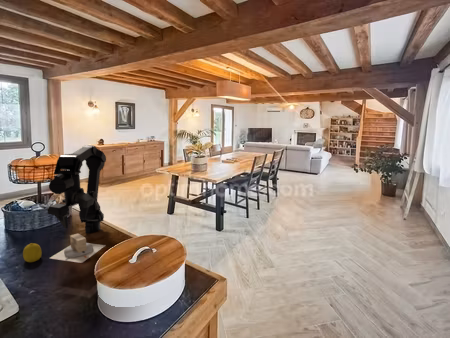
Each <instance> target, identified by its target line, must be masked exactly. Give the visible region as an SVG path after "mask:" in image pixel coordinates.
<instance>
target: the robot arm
mask: <svg viewBox="0 0 450 338" xmlns="http://www.w3.org/2000/svg"><path fill="white" fill-rule="evenodd" d="M84 161H85V165H86V167H87V169H88V175H87V176H88V178H87V186H86V188H87V189H86V192H85V191H84V188H83V187H81V181H80V180H81V179H80V174H81V173H82V172H81V168H82V166H83V162H84ZM106 162H107V155H106V154H105V152H103V151H102V150H100V149H99V148H98V147H96V146H95V145H85V144H84V145H83V146H82V147H81V148H79V149H78V150H76V151H74V152H73V153H68V154H67V153H65V154H62V155H60V156H59V157H58V159H57V160H56V165H55V167H54V171H53V179H51V180H50V181H49V184H48V189H49V191H51V193H53V194H56V195H61V194H63V195H64V196H63V197H64V198H63V199H62V200H61V201H62V203H64V204H62V203H55V204H53V205H50V206H48V208H47V215H51V216H55V218H56V219H57V220H58V221H59V222H60V224H61V225H62V227H63V228H64V229H68V225H69V223H68V216H69V214H70V212H69V211H70V208H72V207H75V206H77V205H78V208H79V213H78V216H79V219H80V222H81V223H84V225H85V226H84V231H85V233H84V234H87V235H88V234H89V235H90V234H94V233H96V232H100V231H102V229H101V223H102V222H104V218H105V217H104V216H105V215H104V213H103V211H102V210H101V205H100V203H99V202H98V199H99V198H98V196H99V186H100V178H101V177H100V175H101V171H102V169H104V168H105V163H106Z"/></svg>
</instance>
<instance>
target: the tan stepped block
mask: <svg viewBox="0 0 450 338" xmlns="http://www.w3.org/2000/svg"><path fill="white" fill-rule="evenodd" d="M86 238H87V237H84V236H83V235H82V234H80V233H78V232H77V233H75V234H71V235H70V234H69V239H70V241H69V242H70V245H71V246H70V245H69V246H66V247H65V248H66V249H65V248H64V249H65V250H64V249H63V250H64V255H65V256H67V257H79V256H83V255H86V254H88V253H90V252H91V251H92V250H93V245H92V244H93V243H91V244H90V243H89V242H87V239H86Z"/></svg>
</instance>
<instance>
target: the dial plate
mask: <svg viewBox="0 0 450 338" xmlns="http://www.w3.org/2000/svg"><path fill="white" fill-rule="evenodd" d="M90 244H92V245H93V250H92V251H91V252H90V253H88V254H86V255H83V256H79V257H67V256H65V255H64V250H65V249H66V248H67V247H65V248H64V249H62V250H61V251H59V252H57V253H55V254H54V255H52V256H51V257H49V259H52V260H59V261H65V262H72V263H73V262H74V263H79V264H80V263H81V264H82V263H84V262H85V261H86V260H88V259H89V258H91V257H92V256H94V255H95V254H96V253H98V252H99V251H100V250H102V249H103V248H104V247H106V244H99V243H98V244H97V243H92V242H91V243H90ZM69 246H71V244H70V245H69Z"/></svg>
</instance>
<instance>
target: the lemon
mask: <svg viewBox="0 0 450 338" xmlns="http://www.w3.org/2000/svg"><path fill="white" fill-rule="evenodd" d="M42 251H43V250H42V248H41V246H40V245H39V244H38V243H33V242H31V243H29V244H27V245H25V247H24V248H23V251H22V257H23V260H24V261H25V262H27V263H34V262H36V261H39V260H40V258H42V254H43V253H42Z"/></svg>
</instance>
